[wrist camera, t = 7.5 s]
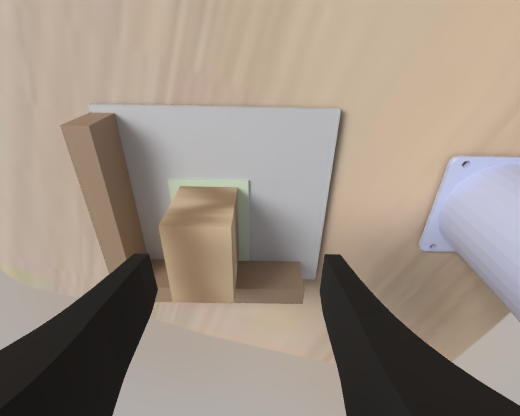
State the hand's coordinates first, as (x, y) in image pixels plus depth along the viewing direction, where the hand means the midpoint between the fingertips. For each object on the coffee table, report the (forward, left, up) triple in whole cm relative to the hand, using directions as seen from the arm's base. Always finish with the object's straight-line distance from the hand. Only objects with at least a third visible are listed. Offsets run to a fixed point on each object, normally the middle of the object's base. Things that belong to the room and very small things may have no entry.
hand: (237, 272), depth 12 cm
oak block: (+3, +4, -9) cm, 10 cm away
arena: (+3, +3, -10) cm, 11 cm away
